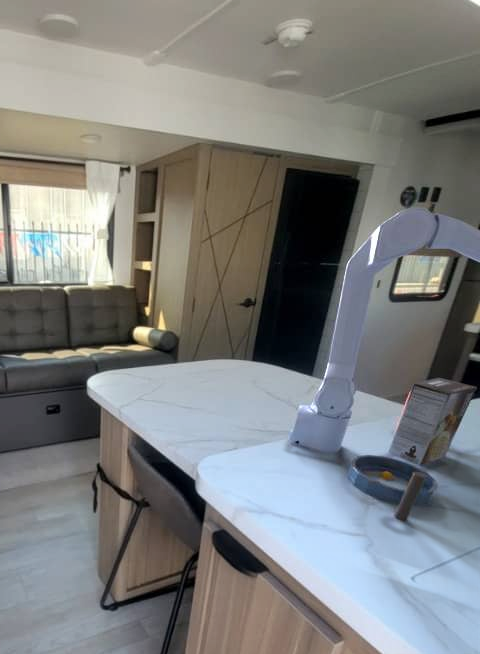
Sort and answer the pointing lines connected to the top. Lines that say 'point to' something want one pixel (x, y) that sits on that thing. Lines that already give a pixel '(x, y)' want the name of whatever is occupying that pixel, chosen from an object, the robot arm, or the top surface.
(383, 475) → the bead
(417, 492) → the stick
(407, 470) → the bowl
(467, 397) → the coffee box
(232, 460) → the top surface
